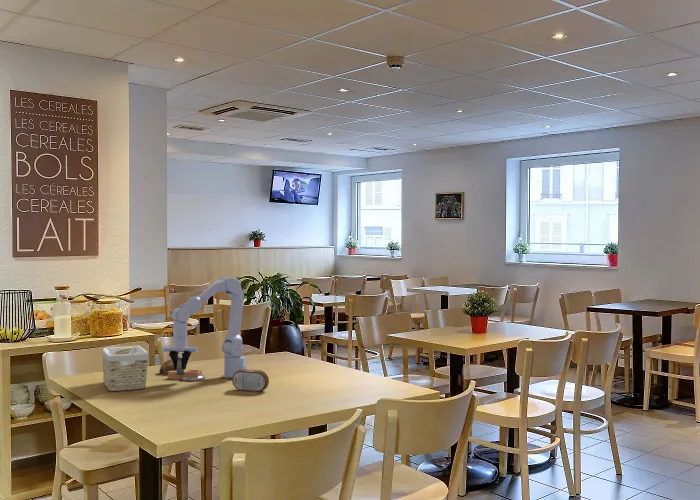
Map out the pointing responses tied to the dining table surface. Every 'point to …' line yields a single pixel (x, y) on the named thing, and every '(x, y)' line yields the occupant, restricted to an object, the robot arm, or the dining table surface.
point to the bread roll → (167, 367)
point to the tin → (250, 380)
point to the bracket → (185, 374)
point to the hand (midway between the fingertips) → (180, 369)
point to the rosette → (193, 378)
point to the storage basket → (125, 367)
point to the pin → (179, 366)
